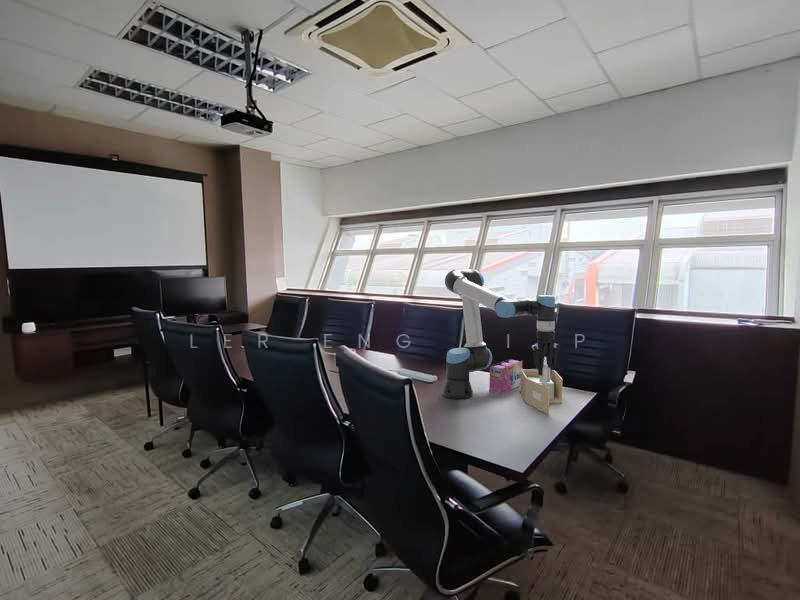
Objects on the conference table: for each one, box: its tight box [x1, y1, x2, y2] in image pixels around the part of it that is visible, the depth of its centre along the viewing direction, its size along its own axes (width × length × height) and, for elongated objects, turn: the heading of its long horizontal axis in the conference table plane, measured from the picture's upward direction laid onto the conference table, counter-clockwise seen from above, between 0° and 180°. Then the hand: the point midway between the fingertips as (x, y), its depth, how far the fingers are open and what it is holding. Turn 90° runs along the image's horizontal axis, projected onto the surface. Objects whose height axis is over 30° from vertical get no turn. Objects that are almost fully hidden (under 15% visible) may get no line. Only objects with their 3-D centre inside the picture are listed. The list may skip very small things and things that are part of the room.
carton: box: [519, 368, 564, 404], centre depth 198 cm, size 17×17×12 cm
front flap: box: [524, 363, 550, 415], centre depth 182 cm, size 17×2×22 cm, turn 18°
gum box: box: [488, 358, 523, 395], centre depth 214 cm, size 24×8×14 cm, turn 136°
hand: (544, 381), depth 177 cm, fingers open, 2 cm apart
